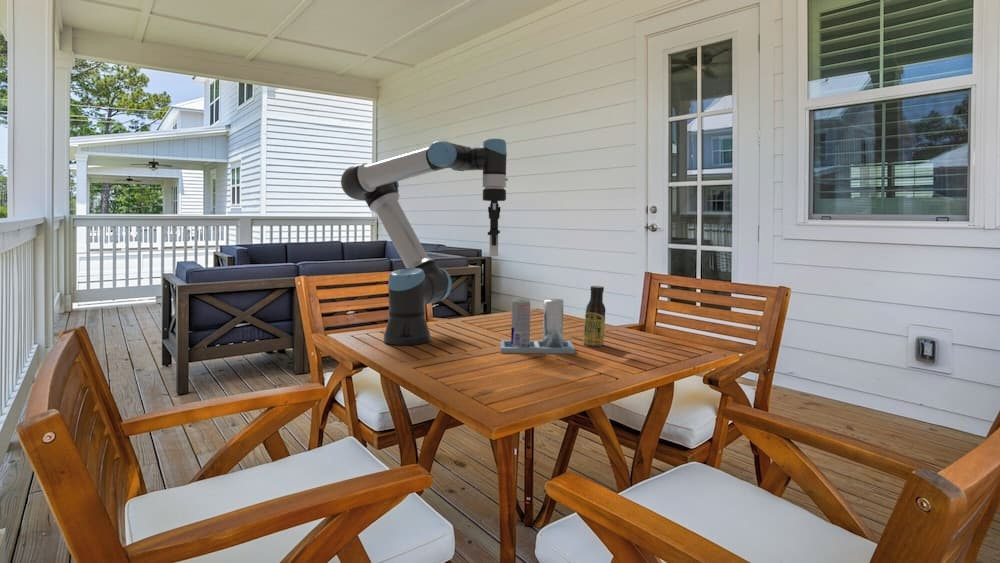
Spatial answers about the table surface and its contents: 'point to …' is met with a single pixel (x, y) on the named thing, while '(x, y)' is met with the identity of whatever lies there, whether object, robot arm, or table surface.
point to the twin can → (553, 323)
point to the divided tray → (535, 348)
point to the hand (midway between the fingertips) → (493, 254)
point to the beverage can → (520, 323)
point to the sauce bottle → (595, 319)
